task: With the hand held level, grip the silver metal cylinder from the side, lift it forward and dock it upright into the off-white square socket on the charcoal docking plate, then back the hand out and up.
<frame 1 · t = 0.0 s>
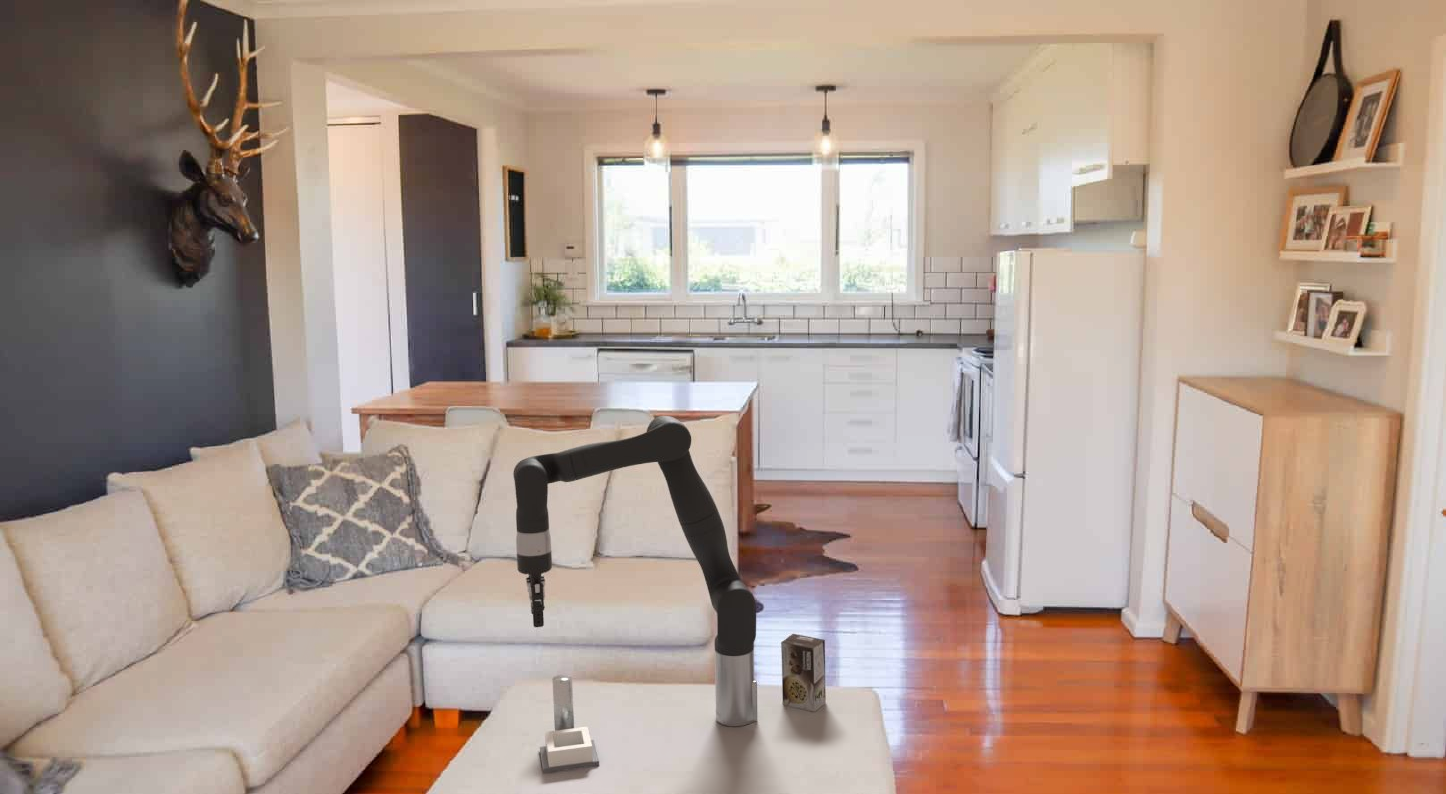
hand: (537, 619, 228), 29 cm above the ottoman, tool pointing down, fingers open, 8 cm apart
silver metal cylinder: (564, 736, 235), on the ottoman
dock: (569, 757, 225), on the ottoman
cookie box: (804, 704, 250), on the ottoman
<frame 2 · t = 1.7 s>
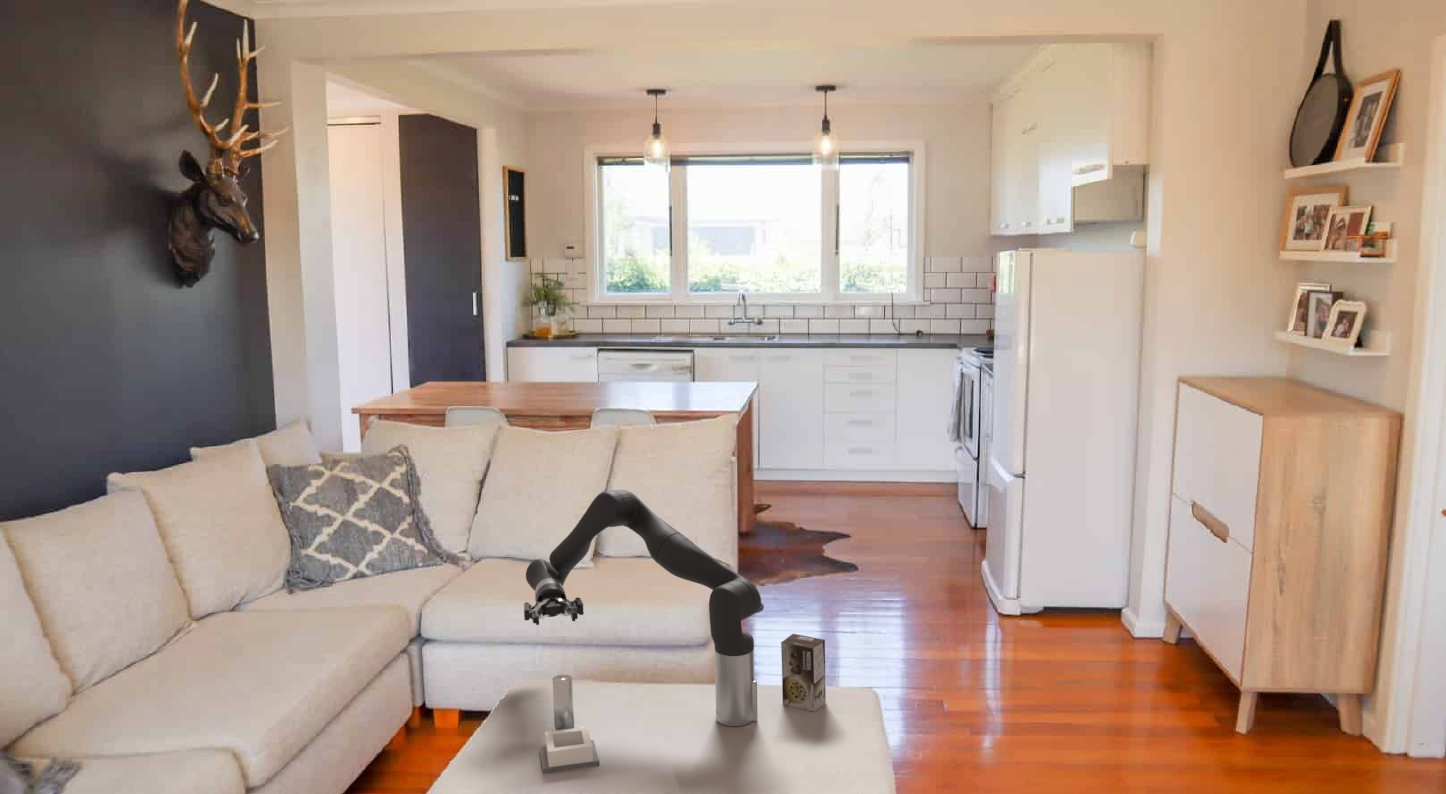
hand: (555, 619, 243), 24 cm above the ottoman, tool horizontal, fingers open, 8 cm apart
nothing on the ottoman moved.
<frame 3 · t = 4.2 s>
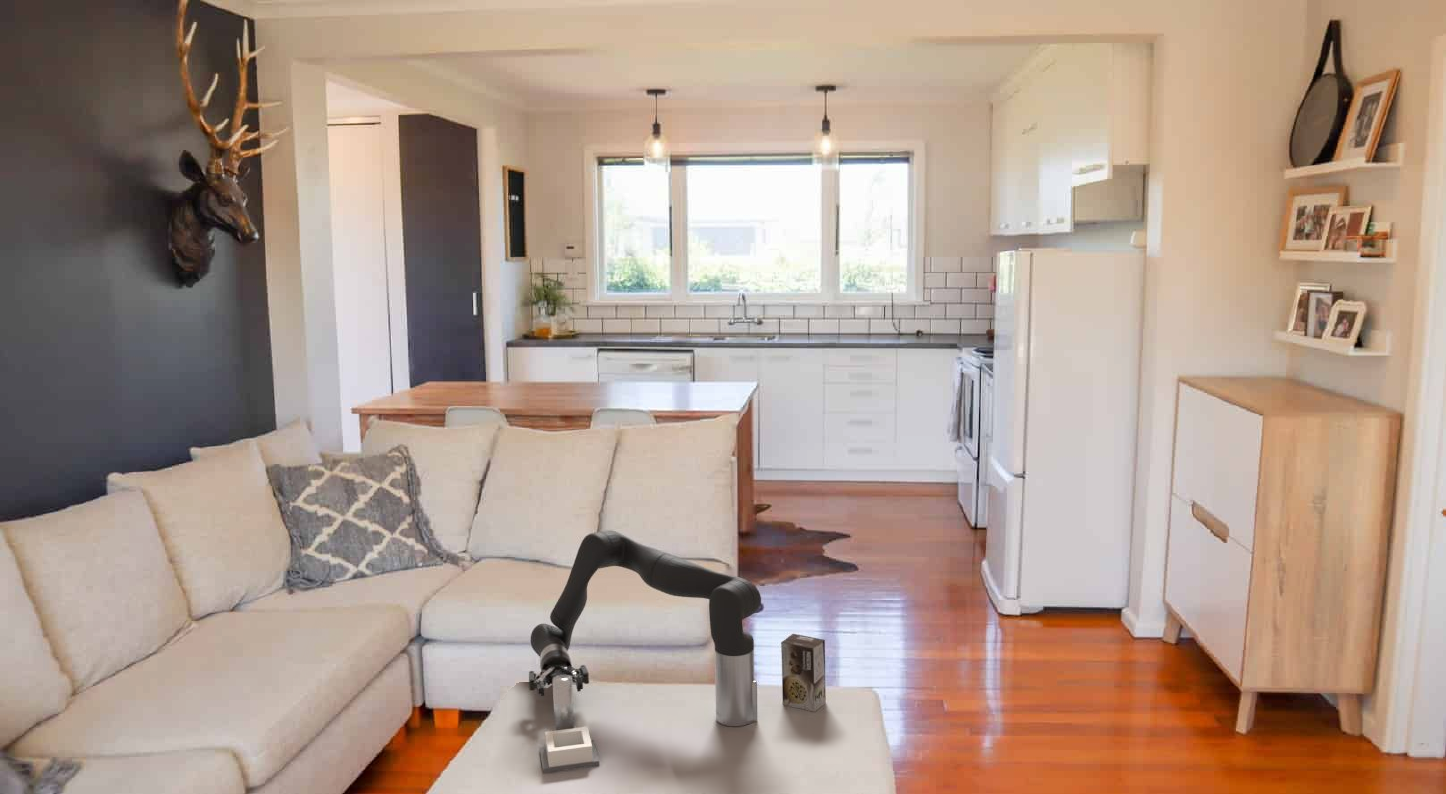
hand: (560, 689, 242), 8 cm above the ottoman, tool horizontal, fingers open, 8 cm apart
nothing on the ottoman moved.
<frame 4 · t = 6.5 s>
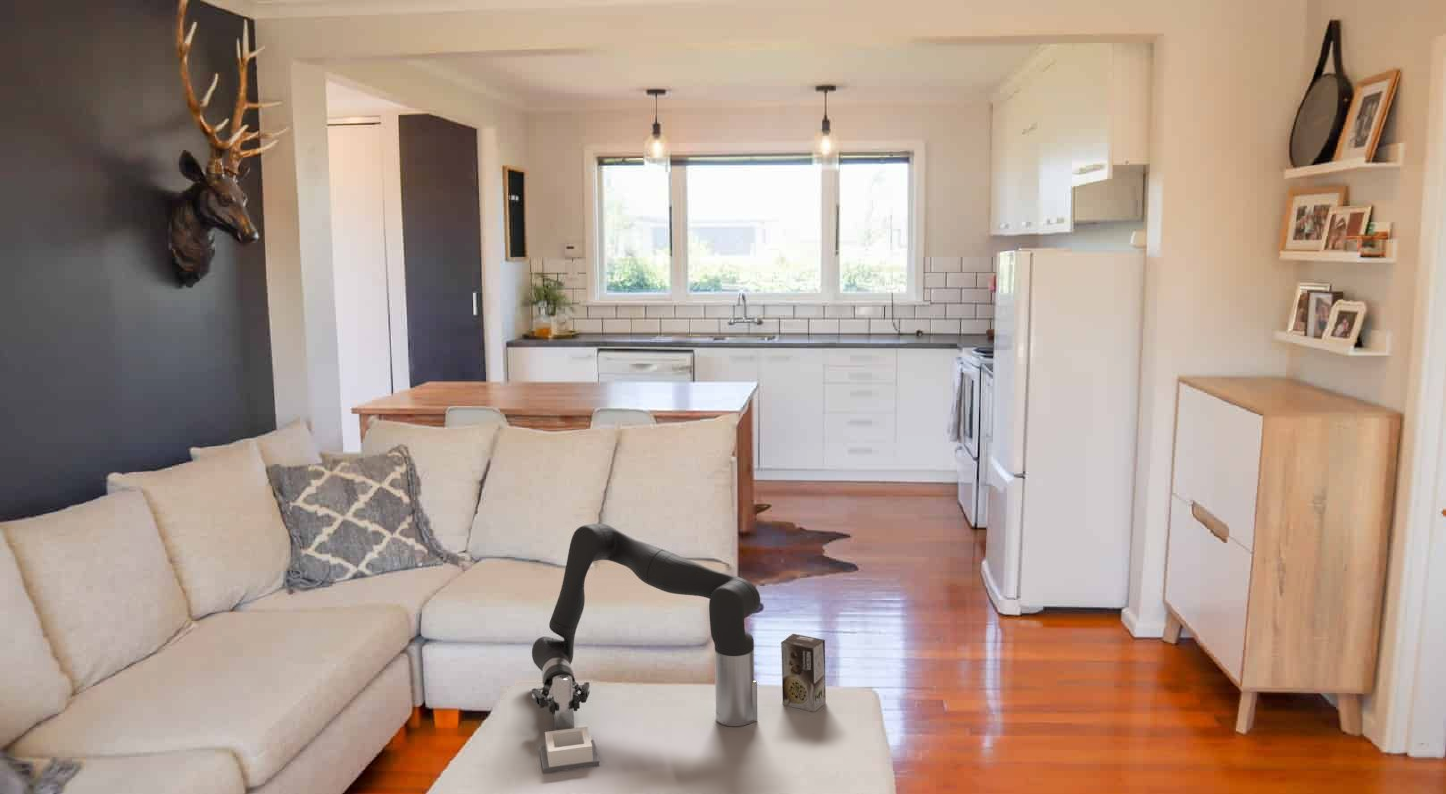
hand: (564, 708, 232), 8 cm above the ottoman, tool horizontal, fingers closed on silver metal cylinder, 4 cm apart
silver metal cylinder: (564, 736, 235), on the ottoman, touching gripper
everything else where it was.
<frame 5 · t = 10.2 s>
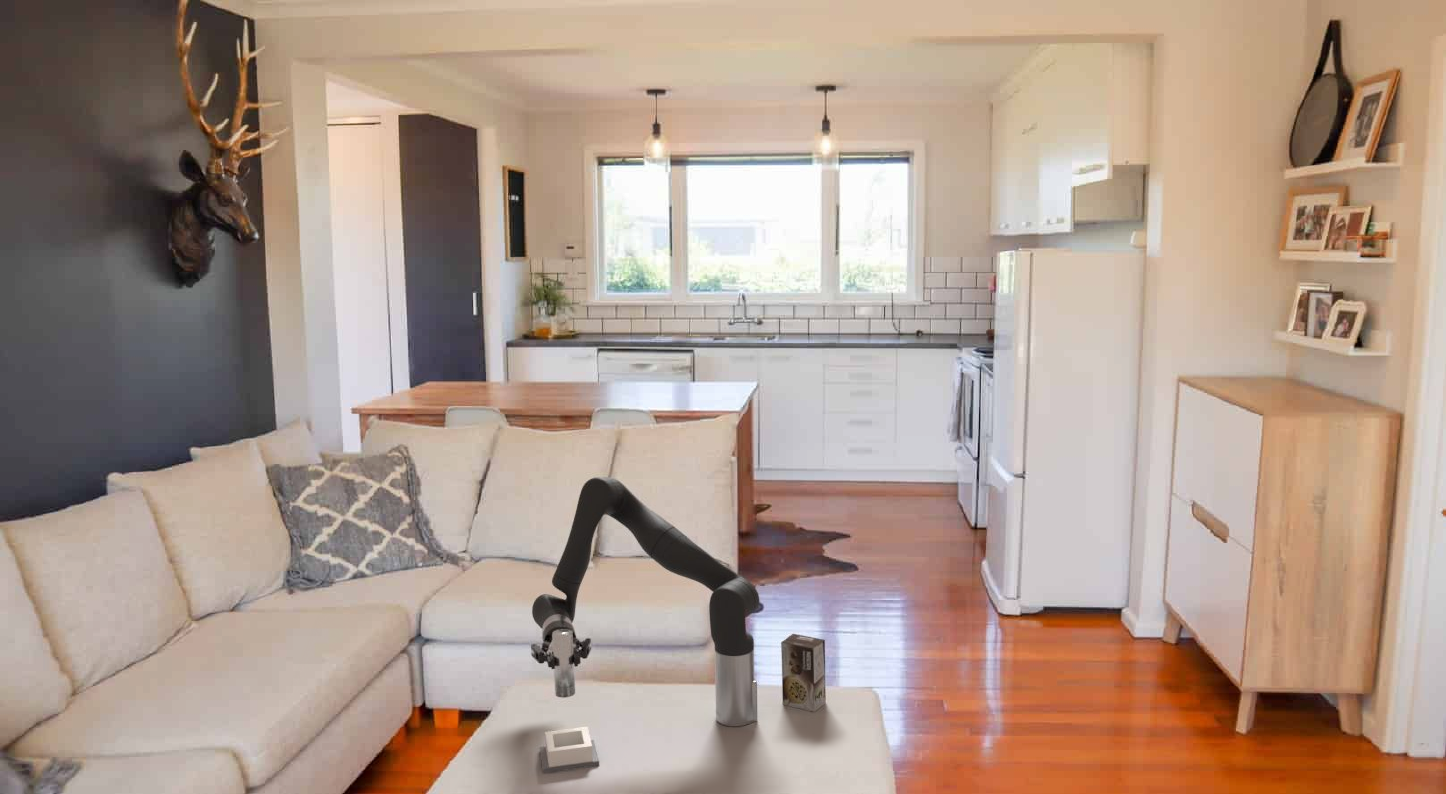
hand: (564, 663, 222), 22 cm above the ottoman, tool horizontal, fingers closed on silver metal cylinder, 4 cm apart
silver metal cylinder: (565, 693, 226), point 14 cm above the ottoman, touching gripper
everything else where it was.
when the fingers open (10 cm above the ottoman, at t = 13.8 s): silver metal cylinder stays where it is, resting on dock.
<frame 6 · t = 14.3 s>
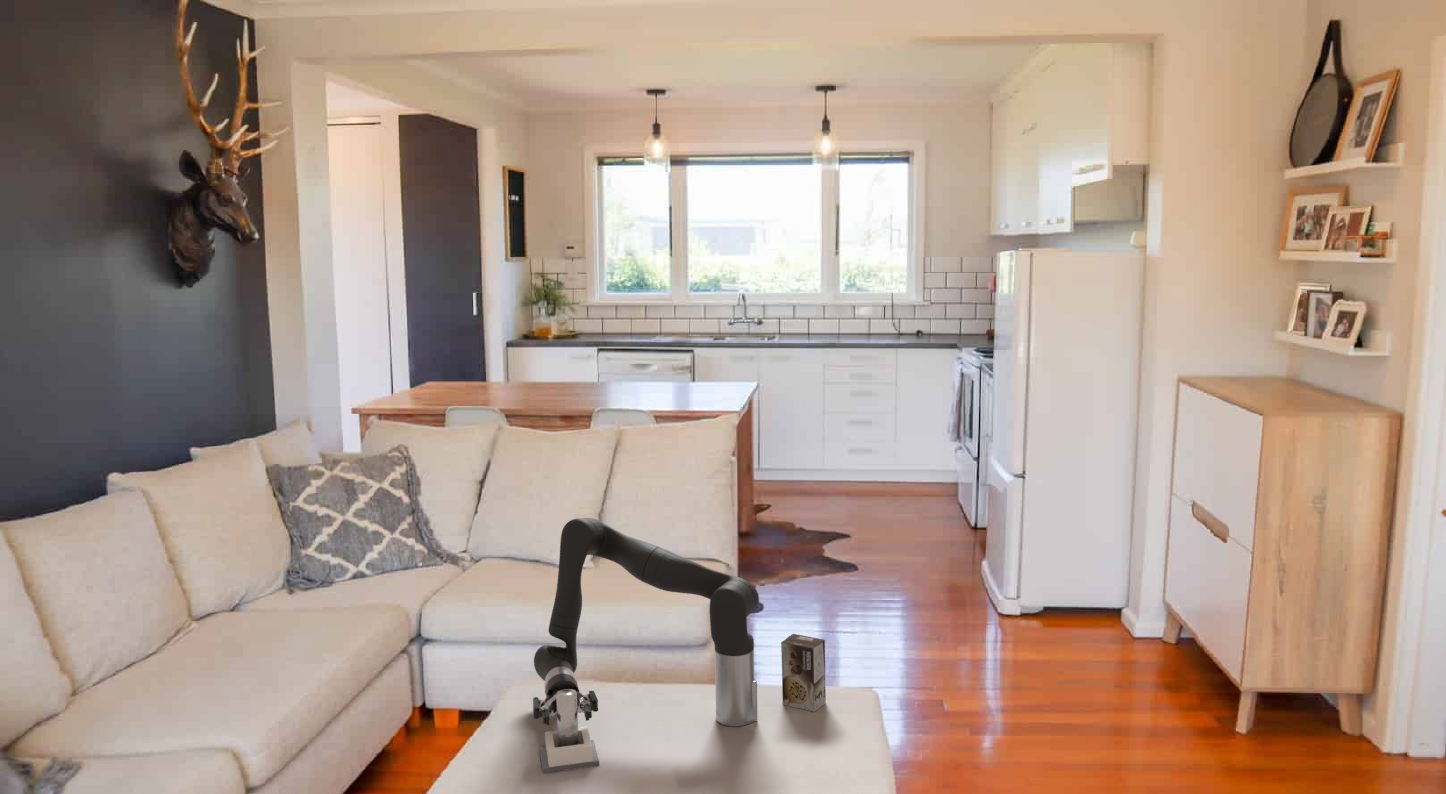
hand: (568, 718, 222), 10 cm above the ottoman, tool horizontal, fingers open, 8 cm apart
silver metal cylinder: (568, 753, 225), point 1 cm above the ottoman, touching dock
everything else where it was.
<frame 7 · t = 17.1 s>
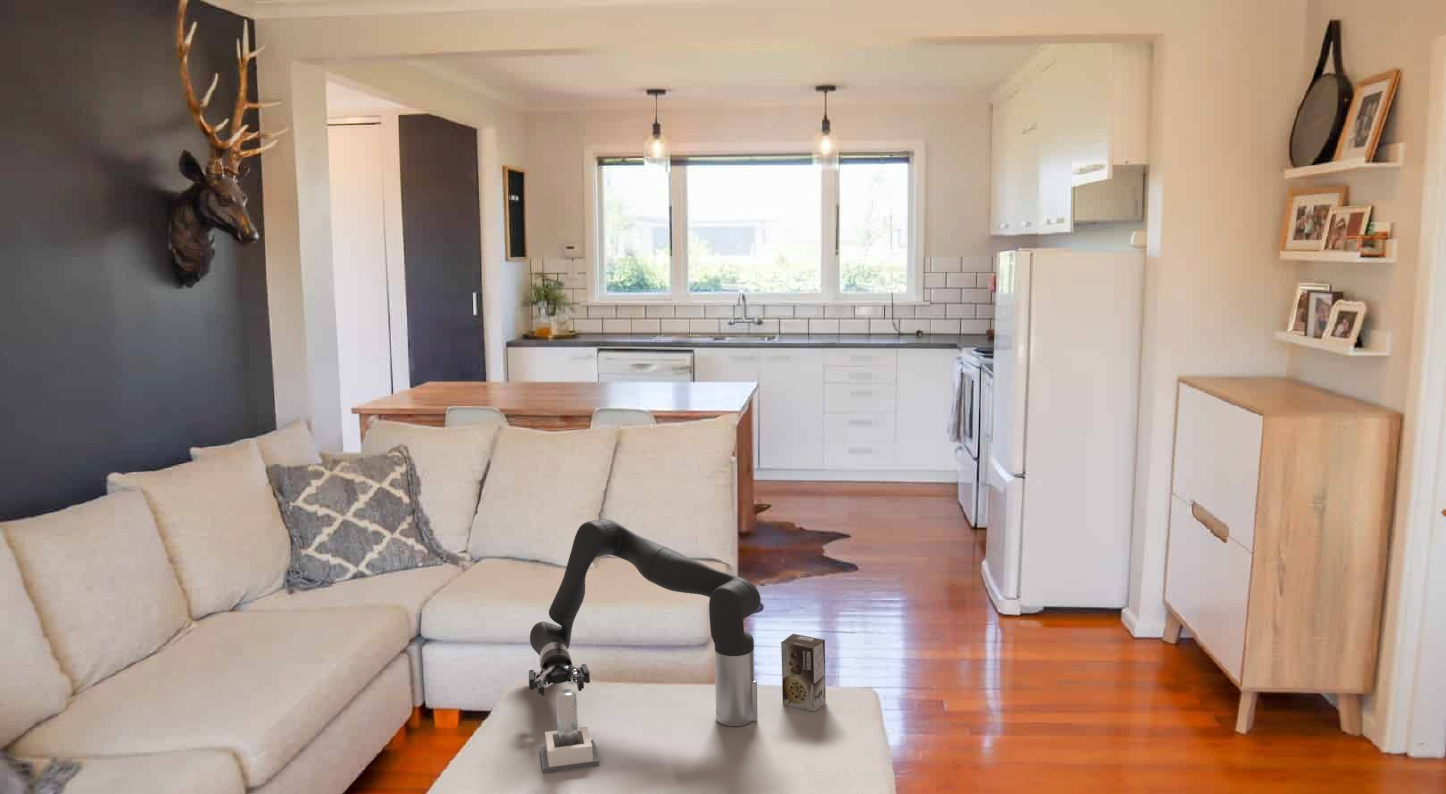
hand: (561, 689, 237), 10 cm above the ottoman, tool horizontal, fingers open, 8 cm apart
nothing on the ottoman moved.
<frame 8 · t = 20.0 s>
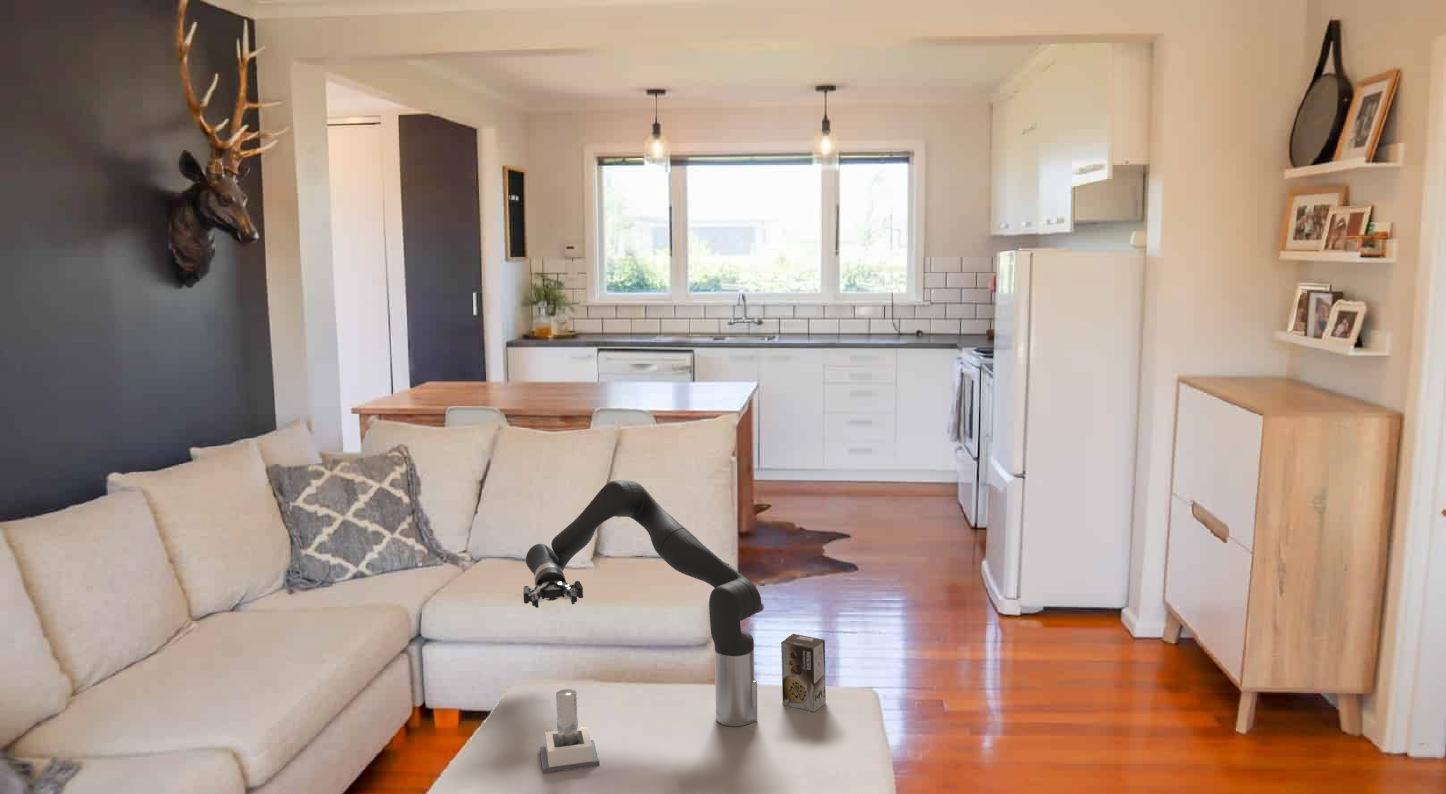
hand: (555, 601, 243), 28 cm above the ottoman, tool horizontal, fingers open, 8 cm apart
nothing on the ottoman moved.
at the end: silver metal cylinder 0.1 cm off-centre on the dock, point 1.0 cm above the dock's base; silver metal cylinder tilted 0°; the gripper is holding nothing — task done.
